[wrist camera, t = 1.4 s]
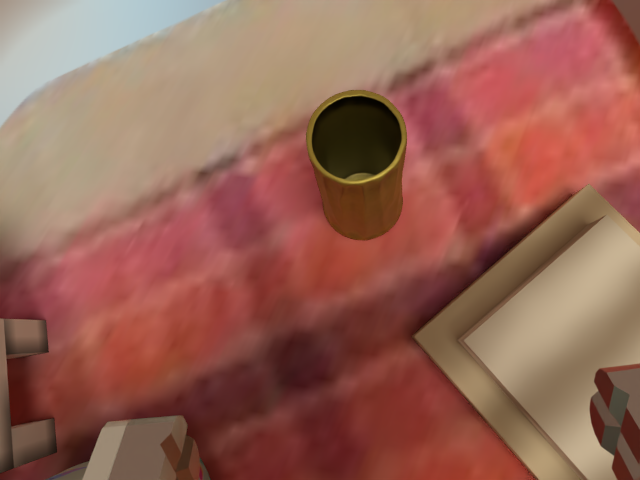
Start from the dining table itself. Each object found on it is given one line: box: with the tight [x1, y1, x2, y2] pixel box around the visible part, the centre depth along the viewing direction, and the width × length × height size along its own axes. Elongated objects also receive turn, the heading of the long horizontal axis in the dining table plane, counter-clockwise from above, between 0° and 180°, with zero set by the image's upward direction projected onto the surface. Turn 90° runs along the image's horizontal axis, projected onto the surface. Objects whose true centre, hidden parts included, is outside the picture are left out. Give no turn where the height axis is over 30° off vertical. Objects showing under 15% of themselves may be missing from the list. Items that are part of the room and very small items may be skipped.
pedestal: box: [411, 184, 640, 480], centre depth 36 cm, size 16×16×6 cm
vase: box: [306, 90, 407, 240], centre depth 35 cm, size 6×6×14 cm
